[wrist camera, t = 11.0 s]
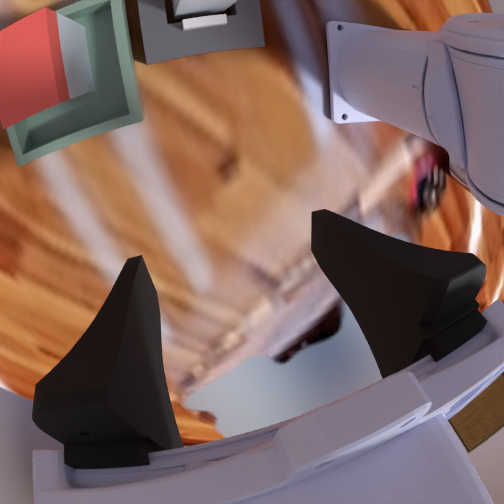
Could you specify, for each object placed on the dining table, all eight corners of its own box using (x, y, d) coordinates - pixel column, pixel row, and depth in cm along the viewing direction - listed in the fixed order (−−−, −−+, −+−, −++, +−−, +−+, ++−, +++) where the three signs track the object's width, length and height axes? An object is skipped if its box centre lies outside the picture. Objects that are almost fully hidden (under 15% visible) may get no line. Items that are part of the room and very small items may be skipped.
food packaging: (423, 344, 51) (486, 435, 32) (396, 350, 47) (465, 457, 28) (461, 293, 45) (539, 388, 25) (439, 294, 41) (528, 406, 22)
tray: (124, -3, 11) (120, -13, 10) (144, 114, 17) (142, 120, 15) (7, 46, 10) (-10, 46, 8) (32, 155, 15) (18, 167, 13)
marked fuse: (84, 26, 11) (45, 7, 6) (95, 90, 14) (60, 103, 9) (41, 44, 11) (-14, 39, 5) (52, 106, 14) (3, 130, 8)
